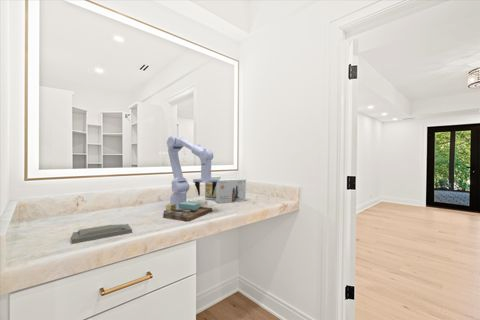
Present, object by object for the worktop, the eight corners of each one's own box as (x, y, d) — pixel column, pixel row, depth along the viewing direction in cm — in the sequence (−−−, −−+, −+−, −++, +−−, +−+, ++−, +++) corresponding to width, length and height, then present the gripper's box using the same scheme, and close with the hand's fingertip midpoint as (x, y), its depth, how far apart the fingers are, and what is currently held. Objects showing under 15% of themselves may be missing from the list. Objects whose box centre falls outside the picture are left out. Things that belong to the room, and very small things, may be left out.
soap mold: (132, 234, 91) (132, 225, 91) (71, 245, 79) (71, 236, 79) (127, 227, 99) (127, 220, 99) (71, 237, 87) (71, 228, 87)
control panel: (163, 217, 114) (163, 210, 114) (189, 208, 134) (189, 202, 134) (188, 221, 107) (188, 214, 107) (212, 211, 127) (212, 205, 127)
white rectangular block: (188, 205, 127) (188, 200, 127) (193, 203, 132) (193, 199, 132) (202, 206, 123) (202, 202, 123) (207, 205, 128) (207, 200, 128)
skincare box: (218, 203, 148) (218, 180, 148) (215, 202, 153) (215, 179, 153) (246, 201, 158) (246, 179, 158) (242, 199, 163) (242, 178, 163)
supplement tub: (202, 198, 167) (202, 176, 167) (215, 196, 175) (215, 175, 175) (211, 201, 158) (211, 177, 158) (224, 198, 166) (224, 176, 166)
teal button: (178, 208, 120) (178, 203, 120) (184, 206, 125) (184, 201, 125) (193, 209, 116) (193, 205, 116) (199, 208, 121) (199, 203, 121)
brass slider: (166, 212, 115) (166, 205, 115) (171, 210, 119) (171, 203, 118) (170, 213, 114) (170, 205, 114) (175, 211, 117) (175, 204, 117)
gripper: (192, 171, 122) (192, 196, 122) (218, 172, 123) (218, 196, 123) (193, 171, 129) (193, 194, 129) (218, 171, 130) (218, 194, 130)
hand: (205, 195), depth 127 cm, fingers open, 7 cm apart
